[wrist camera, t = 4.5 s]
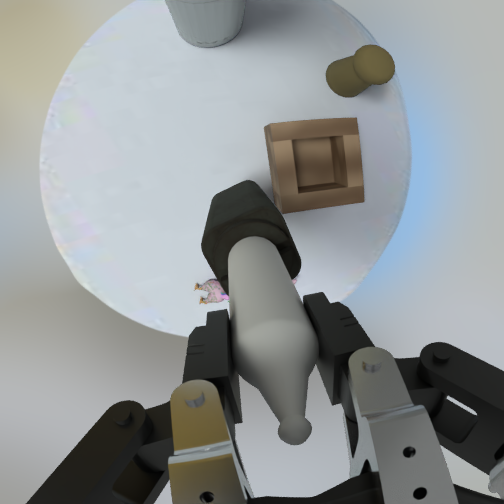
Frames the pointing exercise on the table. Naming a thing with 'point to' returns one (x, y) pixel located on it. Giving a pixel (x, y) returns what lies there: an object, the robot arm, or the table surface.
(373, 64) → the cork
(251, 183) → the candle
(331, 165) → the box
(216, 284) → the pink rainbow-tailed figurine
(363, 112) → the table surface
